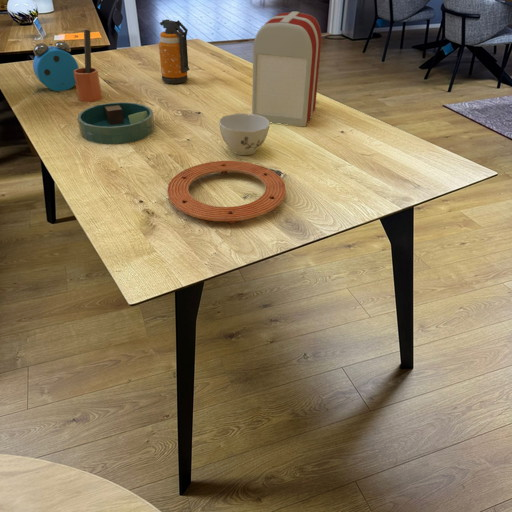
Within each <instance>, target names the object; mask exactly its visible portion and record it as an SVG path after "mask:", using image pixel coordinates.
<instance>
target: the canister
mask: <svg viewBox="0 0 512 512" xmlns="http://www.w3.org/2000/svg"><path fill="white" fill-rule="evenodd" d="M159 25H160V26H162V28H163V29H164V31H162V32H160V34H159V42H158V50H159V61H160V70H161V81H162V82H165V83H167V84H173V85H178V84H182V83H184V82H186V81H188V78H189V77H188V71H190V67H189V56H188V39H187V36H188V31H189V30H188V28H187V27H185V26H184V24H183V23H182V22H181V21H180V20H177V21H176V20H170V19H162V20H161V21H160V22H159Z"/></svg>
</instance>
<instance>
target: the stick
mask: <svg viewBox="0 0 512 512" xmlns="http://www.w3.org/2000/svg"><path fill="white" fill-rule="evenodd" d="M83 39H84V40H83V44H84V68H85V73H91V68H92V47H91V45H92V44H91V30H90V29H84V30H83Z"/></svg>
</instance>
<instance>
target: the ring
mask: <svg viewBox="0 0 512 512" xmlns="http://www.w3.org/2000/svg"><path fill="white" fill-rule="evenodd" d="M229 172H231V173H232V172H233V173H241V174H245V175H248V176H252V177H253V178H256V179H257V180H258V181H260V182H261V183H262V184H263V186H264V192H263V194H262V195H261V196H260V197H258V198H257V199H255V200H254V201H252V202H249V203H245V204H242V205H236V206H235V205H234V206H216V205H210V204H206V203H203V202H201V201H199V200H197V199H195V197H194V196H192V195H191V193H190V186H191V185H192V184H193V183H194V182H195V181H196V180H198V179H200V178H201V177H204V176H207V175H210V174H215V173H220V174H221V175H227V174H228V173H229ZM166 190H167V192H166V193H167V197H168V200H169V201H170V203H171V204H172V205H173V206H174V207H175V208H176V209H177V210H179V211H180V212H181V213H183V214H185V215H188V216H190V217H192V218H196V219H200V220H205V221H210V222H211V221H212V222H227V223H228V224H235V223H236V222H238V221H245V220H251V219H254V218H258V217H261V216H263V215H266V214H267V213H270V212H272V211H273V210H275V209H277V208H278V207H279V206H280V205H281V204H282V203H283V202H284V200H285V198H286V196H287V195H286V194H287V187H286V183H285V182H284V180H283V179H282V177H281V176H280V175H278V173H276V172H275V171H273V170H271V169H269V168H267V167H265V166H263V165H260V164H256V163H252V162H247V161H240V160H217V161H209V162H204V163H201V164H197V165H194V166H191V167H188V168H185V169H184V170H182V171H180V172H178V173H177V174H175V175H174V176H173V177H172V178H171V179H170V181H169V182H168V185H167V189H166Z"/></svg>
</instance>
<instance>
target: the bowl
mask: <svg viewBox="0 0 512 512" xmlns="http://www.w3.org/2000/svg"><path fill="white" fill-rule="evenodd" d="M114 105H119V106H120V107H121V109H122V112H123V119H124V123H121V124H114V125H110V124H109V123H108V121H107V118H106V112H105V107H106V106H114ZM143 111H147V114H148V117H147V118H146V119H144V120H142V121H140V122H137V123H134V124H130V120H129V117H128V115H132V114H135V113H139V112H143ZM76 119H77V123H78V128H79V132H80V135H81V137H82V138H83V139H84V140H86V141H88V142H90V143H93V144H99V145H124V144H130V143H135V142H137V141H141V140H144V139H146V138H147V137H149V136H151V135H152V134H153V133H154V131H155V121H154V112H153V109H151V108H150V107H149V106H148V105H145V104H142V103H138V102H130V101H129V102H127V101H118V102H117V101H116V102H107V103H100V104H95V105H93V106H89V107H87V108H85V109H83V110H81V111H80V112H79V113H78V114H77V118H76Z"/></svg>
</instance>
